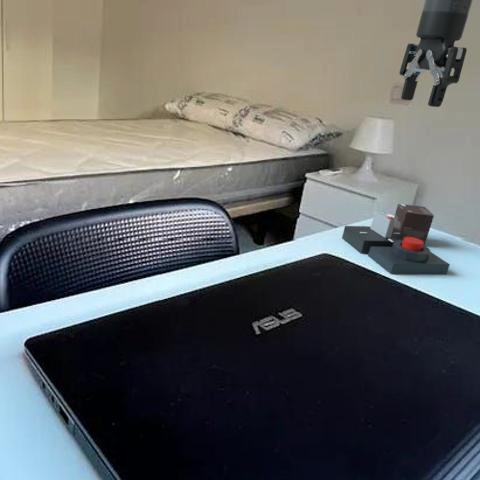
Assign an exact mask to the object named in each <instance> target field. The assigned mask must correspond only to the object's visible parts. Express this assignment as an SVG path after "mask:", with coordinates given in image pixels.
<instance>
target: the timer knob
mask: <svg viewBox="0 0 480 480" xmlns="http://www.w3.org/2000/svg"><path fill="white" fill-rule="evenodd" d="M395 221H396V220H395V218H394V217H393V216H390V215H388V214H386V213H384V212H382V211H376V210H375V211H374V213H373V217H372V221H371V224H370V225H371V228H370V229H372V230H373V231H375V232H376V233H378V234H380V235H381V236H383V237H385V238H391V235H392V231H393V228H394V224H395Z"/></svg>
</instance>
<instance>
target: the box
mask: <svg viewBox="0 0 480 480" xmlns="http://www.w3.org/2000/svg"><path fill="white" fill-rule="evenodd" d="M393 218H395V220H396V221H395V224H394V227H395V228H397V229H399V230H400V231H402V232H403V233H405V234H406V235H408V236H409V237H413V238H417V239H420V240H422V241H423V242H424V244H423V245H424V246H426V242H427V240H428V236H429V232H430V229H431V226H432V222H433V220H434V218H435V215H434V213H432V212H431V211H430V210H429V209H427V207H426V206H421V205H413V204H404V203H398V204H397V205H396V210H395V212H394V217H393Z"/></svg>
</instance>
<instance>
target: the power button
mask: <svg viewBox="0 0 480 480" xmlns="http://www.w3.org/2000/svg"><path fill="white" fill-rule="evenodd" d="M423 244H424V242H423V241H422V240H420V239H417V238H413V237H405V238H404V239H403V242H402V247H403V248H406V249H408V250H412V251H421V250H422V247H423Z"/></svg>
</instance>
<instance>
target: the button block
mask: <svg viewBox="0 0 480 480" xmlns="http://www.w3.org/2000/svg"><path fill="white" fill-rule="evenodd" d="M402 242H403V240H397V241H395V242H394V243H393V246H392V247H376V246H371V247H370V250H369V254H367V256H368V257H369V258H370V259H371V260H372V261H373V262H374V263H376V265H378V266H379V267H381V268H382V269H383V270H384V271H386V272H387V273H389V274H390V275H447V274H448V271H449V268H450V265H451V264H450V263H449V262H447V261H446V260H444V259H442V258H441V257H440V256H438V255H436V254H435V253H433V252H432V251H431V250H430V248H429V247H428V246H426V245H425V246H424V245H423V247H422V250H421V251H412V250H408V249H406V248H403V247H402Z"/></svg>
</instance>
